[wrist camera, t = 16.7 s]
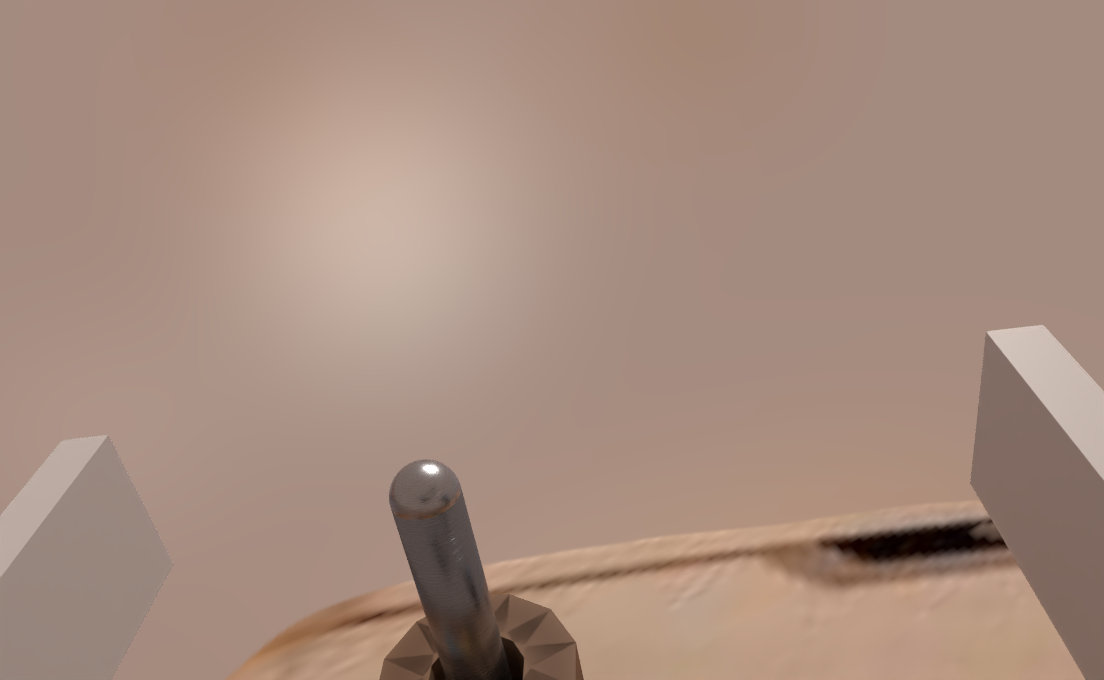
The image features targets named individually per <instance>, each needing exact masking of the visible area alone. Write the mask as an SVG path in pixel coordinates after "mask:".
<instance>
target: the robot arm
mask: <svg viewBox="0 0 1104 680" xmlns="http://www.w3.org/2000/svg"><path fill="white" fill-rule="evenodd" d="M970 483H971V485H972V487H973V489H974V490H975V492H976V493H977V495H978V497H979V499H980V501H981V502H982V504H983V506H984V507H985V509H986V511H987V512H988V514H989V516H990V518H991V519H992V521H993V523H994V524H995V526H996V528H997V529H998V531H999V533H1000V535H1001V536H1002V538H1003V540H1004V541H1005V543H1006V545H1007V547H1008V548H1009V550H1010V552H1011V553H1012V555H1013V557H1014V558H1015V560H1016V562H1017V564H1018V565H1019V567H1020V569H1021V570H1022V572H1023V574H1024V575H1025V577H1026V579H1027V581H1028V582H1029V584H1030V586H1031V587H1032V589H1033V591H1034V592H1035V594H1036V596H1037V598H1038V599H1039V601H1040V603H1041V604H1042V606H1043V608H1044V609H1045V611H1046V613H1047V615H1048V616H1049V618H1050V620H1051V621H1052V623H1053V625H1054V626H1055V628H1056V630H1057V632H1058V633H1059V635H1060V637H1061V638H1062V640H1063V642H1064V643H1065V645H1066V647H1067V649H1068V650H1069V652H1070V654H1071V655H1072V657H1073V659H1074V660H1075V662H1076V664H1077V666H1078V667H1079V669H1080V671H1081V672H1082V674H1083V676H1084V677H1085V679H1086V680H1104V391H1103V390H1102V389H1101V388H1100V387H1099V386H1098V385H1097V383H1096V382H1095V381H1094V380H1093V379H1092V378H1091V377H1090V376H1089V375H1088V374H1087V372H1086V371H1084V369H1083V368H1082V367H1081V366H1080V365H1079V364H1078V363H1077V362H1076V360H1075V359H1074V358H1073V357H1072V356H1071V355H1070V354H1069V353H1068V352H1067V351H1066V349H1065V348H1064V347H1063V346H1062V345H1061V344H1060V343H1059V342H1058V341H1057V340H1056V339H1055V337H1054V336H1053V335H1052V334H1051V333H1050V332H1049V331H1048V330H1047V329H1046V328H1045V326H1043V325H1038V326H1030V327H1021V328H1012V329H1004V330H995V331H987V332H986V338H985V347H984V357H983V366H982V376H981V386H980V396H979V406H978V415H977V424H976V434H975V444H974V453H973V463H972V472H971V482H970ZM173 565H174V564H173V562H172V560H171V558H170V556H169V554H168V552H167V550H166V548H165V546H164V544H163V542H162V540H161V538H160V536H159V534H158V532H157V530H156V528H155V526H154V524H153V522H152V520H151V518H150V516H149V514H148V512H147V510H146V508H145V506H144V504H143V502H142V500H141V498H140V496H139V494H138V493H137V491H136V489H135V487H134V485H133V483H132V481H131V479H130V477H129V475H128V473H127V471H126V469H125V467H124V465H123V463H122V461H121V459H120V457H119V455H118V453H117V451H116V449H115V447H114V445H113V443H112V441H111V439H110V437H109V435H104V436H94V437H86V438H78V439H69V440H62V441H61V442H60V444H59V445H58V446H57V447H56V448H55V450H54V451H53V452H52V453H51V455H50V456H49V457H48V458H47V459H46V461H45V462H44V463H43V464H42V466H41V467H40V468H39V469H38V470H37V472H36V473H35V474H34V475H33V476H32V478H31V479H30V480H29V482H27V484H26V485H25V486H24V487H23V489H22V490H21V491H20V492H19V493H18V495H17V496H16V497H15V498H14V500H13V501H12V502H11V503H10V504H9V506H8V507H7V508H6V509H5V510H4V512H3V513H2V514H1V515H0V680H111V679H112V678H113V676H114V674H115V672H116V670H117V668H118V667H119V665H120V663H121V661H122V659H123V657H124V655H125V654H126V652H127V650H128V648H129V646H130V644H131V642H132V641H133V639H134V637H135V635H136V633H137V631H138V630H139V628H140V626H141V624H142V622H143V620H144V618H145V617H146V614H147V613H148V611H149V609H150V607H151V605H152V604H153V602H154V600H155V598H156V596H157V594H158V592H159V590H160V589H161V587H162V585H163V583H164V581H165V579H166V577H167V576H168V574H169V572H170V570H171V568H172V566H173Z"/></svg>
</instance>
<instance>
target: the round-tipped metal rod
mask: <svg viewBox="0 0 1104 680" xmlns="http://www.w3.org/2000/svg"><path fill="white" fill-rule="evenodd" d="M389 502H390V506H391V510H392V513H393V516H394V519H395V522H396V525H397V529H398V532H399V534H400V538H401V541H402V544H403V547H404V550H405V553H406V556H407V560H408V563H409V566H410V569H411V572H412V575H413V578H414V581H415V584H416V587H417V591H418V594H419V597H420V600H421V603H422V606H423V609H424V612H425V615H426V618H427V622H428V625H429V628H430V631H431V634H432V637H433V640H434V643H435V646H436V649H437V653H438V656H439V659H440V662H441V665H442V668H443V671H444V674H445V677H446V680H512V677H511V673H510V669H509V665H508V662H507V658H506V654H505V650H504V647H503V643H502V639H501V635H500V632H499V628H498V624H497V620H496V617H495V613H494V609H493V605H492V602H491V598H490V594H489V591H488V587H487V583H486V579H485V576H484V572H483V568H482V564H481V561H480V557H479V553H478V549H477V546H476V542H475V538H474V535H473V531H472V527H471V523H470V519H469V516H468V512H467V508H466V505H465V501H464V497H463V494H462V490H461V486H460V483H459V480H458V478H457V477H456V475H455V474H454V472H453V471H452V470H451V469H450V468H449V467H447V466H446V465H444V464H443V463H440V462H438V461H435V460H427V459H426V460H418V461H414V462H412V463H410V464H408V465H406V466H405V467H404V468H402V469H401V470H400V471H399V472H398V473H397V475H396V476H395V478H394V479H393V481H392V484H391V487H390V492H389Z"/></svg>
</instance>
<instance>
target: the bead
mask: <svg viewBox="0 0 1104 680" xmlns="http://www.w3.org/2000/svg"><path fill="white" fill-rule="evenodd" d="M490 598H491V602H492V605H493V609H494V613H495V617H496V620H497V624H498V628H499V632H500V635H501V639H502V643H503V647H504V650H505V654H506V658H507V662H508V665H509V669H510V673H511V677H512V680H584V679H583V675H582V670H581V665H580V660H579V655H578V651H577V646H576V642H575V641H574V639H573V638H572V637H571V635H570V634H569V633H568V631H567V630H566V629H565V627H564V626H563V625H562V623H561V622H560V621H559V620H558V618H557V617H556V616H555V614H554V613H553V612H552V610H551V609H549V608H546V607H543V606H540V605H538V604H535V603H532V602H529V601H526V600H524V599H521V598H518V597H515V596H513V595H510V594H507V595H496V596H490ZM380 680H446V677H445V674H444V671H443V668H442V665H441V662H440V659H439V656H438V653H437V649H436V646H435V643H434V640H433V637H432V634H431V631H430V628H429V625H428V622H427V618H426V617H425V618H423V619H421V620H419V621H417V622H416V623H415V624H414V625H413V626H412V627H411V629H410V630H409V631H408V632H407V633H406V634H405V636H404V637H403V638H402V639H401V640H400V641H399V642H398V644H397V645H396V646H395V647H394V648H393V649H392V651H391V652H390V653H389V654H388V655H387V656H386V658H385V659H384V662H383V667H382V671H381V676H380Z"/></svg>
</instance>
